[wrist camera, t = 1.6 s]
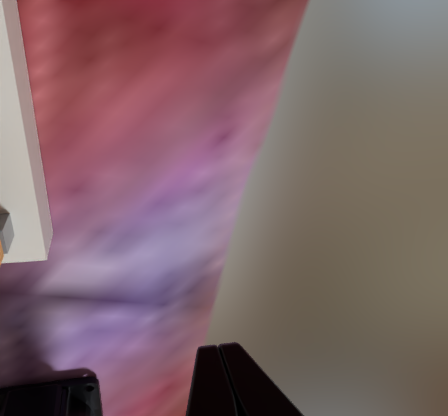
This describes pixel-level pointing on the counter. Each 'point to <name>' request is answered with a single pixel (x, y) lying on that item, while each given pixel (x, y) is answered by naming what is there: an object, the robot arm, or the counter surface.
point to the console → (19, 152)
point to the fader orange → (1, 253)
